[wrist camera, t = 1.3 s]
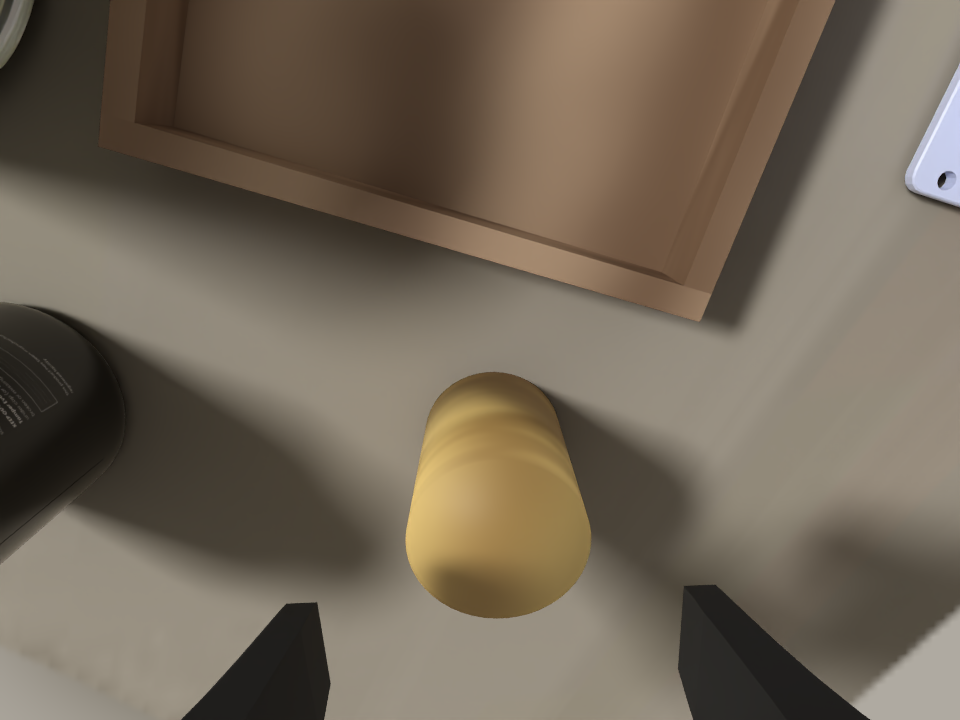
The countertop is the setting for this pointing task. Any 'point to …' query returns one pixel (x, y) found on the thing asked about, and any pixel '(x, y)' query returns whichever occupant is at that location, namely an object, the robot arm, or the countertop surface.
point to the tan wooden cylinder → (496, 501)
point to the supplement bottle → (50, 420)
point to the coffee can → (12, 25)
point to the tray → (480, 120)
